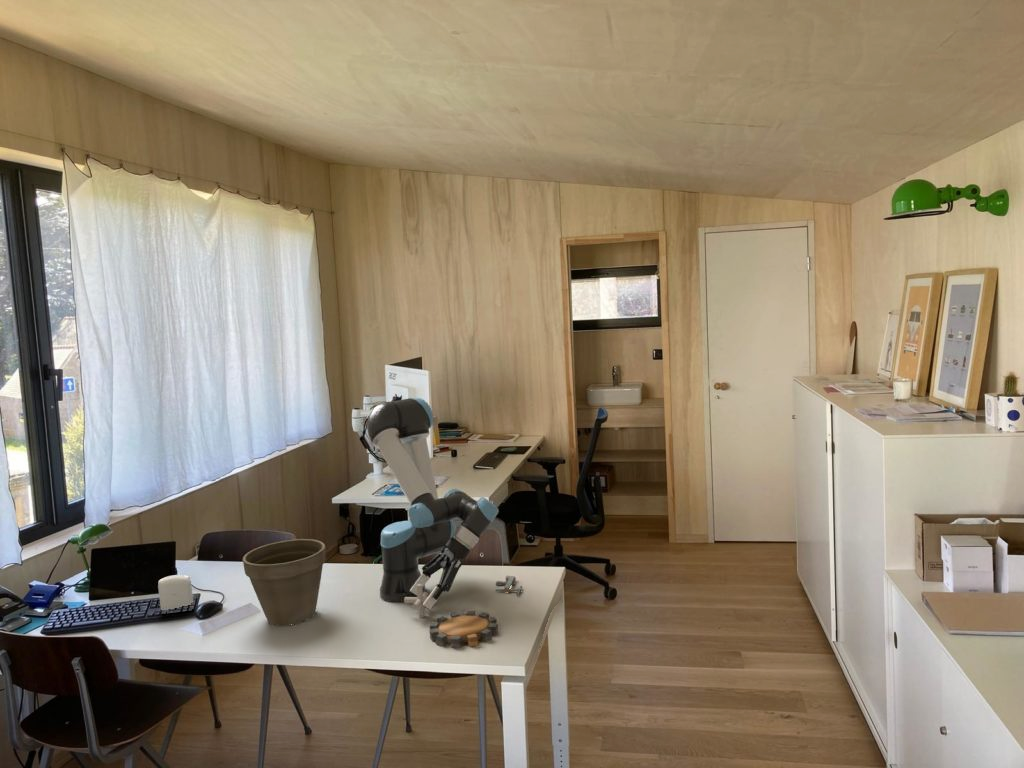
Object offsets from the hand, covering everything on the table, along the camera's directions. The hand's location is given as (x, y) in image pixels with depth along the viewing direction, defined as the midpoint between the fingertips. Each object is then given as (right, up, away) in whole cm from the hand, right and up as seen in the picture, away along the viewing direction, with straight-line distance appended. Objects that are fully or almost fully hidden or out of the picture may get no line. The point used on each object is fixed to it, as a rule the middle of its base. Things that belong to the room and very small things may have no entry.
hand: (419, 599), depth 235 cm
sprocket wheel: (+14, -6, -13) cm, 20 cm away
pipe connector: (+1, -6, +2) cm, 6 cm away
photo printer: (-82, -9, +19) cm, 85 cm away
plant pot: (-42, -8, +8) cm, 43 cm away
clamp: (+27, -3, +20) cm, 34 cm away
